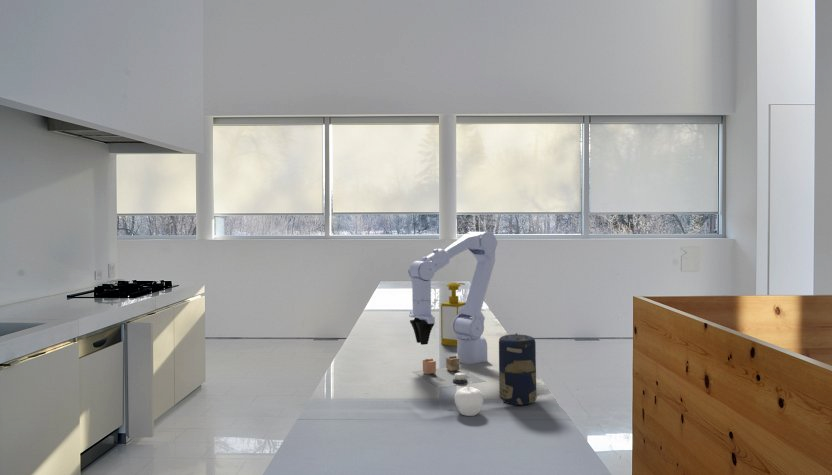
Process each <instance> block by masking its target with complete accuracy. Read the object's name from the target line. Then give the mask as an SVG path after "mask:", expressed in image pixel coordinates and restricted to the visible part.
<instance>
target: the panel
mask: <svg viewBox="0 0 832 475" xmlns="http://www.w3.org/2000/svg"><path fill="white" fill-rule="evenodd" d="M412 373H413V374H415V375H417V376H418V377H419V378H421V379H423V380H425V381H426V382H428V383H430V384H432V385H433V386H435V387H436V388H438V389H440V388H449V387H454V386H456V387H457V386H461V385H469V384H470V382H472V383H471V384H478V383H483V382H486V380H484V379H483V378H481V377H478V376H476V375H474V374H473V373H470V372H468V371H466V370H464V369H462V368H460V367H459V370H454V371H450V370H448V369H446V367H441V368H436V373H431V374H426V373H424V372H423V370H417V371H416V370H415V371H412ZM455 373H465V380H455Z"/></svg>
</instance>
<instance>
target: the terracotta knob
mask: <svg viewBox="0 0 832 475" xmlns="http://www.w3.org/2000/svg"><path fill="white" fill-rule="evenodd" d="M436 365H437V361H436V360H435V359H434V358H427V359H426V358H425V359H423V360H422V371H423V372H424V373H426V374H431V373H436V369H437V366H436Z"/></svg>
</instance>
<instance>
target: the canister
mask: <svg viewBox="0 0 832 475" xmlns="http://www.w3.org/2000/svg"><path fill="white" fill-rule="evenodd" d="M536 350H537V349H536V339H535V338H534V337H533V336H530V335H527V334H518V333H517V332H516V333H515V334H514V333H513V334H505V335H502V336H500V337H499V339H498V377H499V378H498V384H499V385H498V388H499V391H498V392H499V398H500V399H501V400H502V401H503V403H505V404H509V405H528V404H532V403H533V402H534V401H536V398H537V359H536V358H537V352H536Z"/></svg>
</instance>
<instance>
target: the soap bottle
mask: <svg viewBox="0 0 832 475" xmlns="http://www.w3.org/2000/svg"><path fill="white" fill-rule="evenodd" d="M462 285H464V286H465V285H466V283H462V282H453V281H452V282H449V283H447V285H446V287H448V290H449V291H451V295H449V296H448V301H447V302H446V301H445V302H443V303H440V323H441V324H440V331H441V336H440V337H441V339H440V341H441V344H440V345H445V346H453V347H457V337H456V333H455V332H454V331H453V327H452V324H453V321H454V319H455V318H456V316H457V314H458V311H459V310H461V309H462V308H463V307H464V306H465V304H466V301H459V295H456V294H457V291H458V290H459V287H461V286H462Z"/></svg>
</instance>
